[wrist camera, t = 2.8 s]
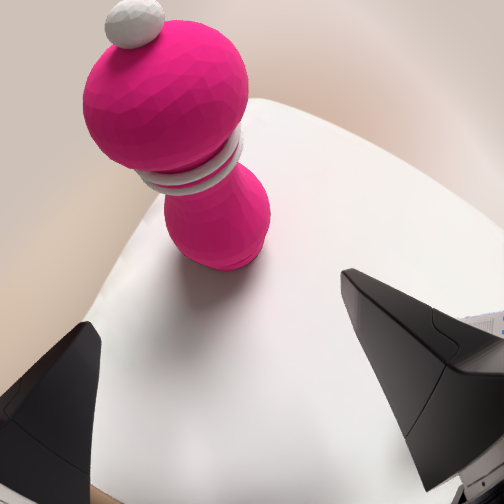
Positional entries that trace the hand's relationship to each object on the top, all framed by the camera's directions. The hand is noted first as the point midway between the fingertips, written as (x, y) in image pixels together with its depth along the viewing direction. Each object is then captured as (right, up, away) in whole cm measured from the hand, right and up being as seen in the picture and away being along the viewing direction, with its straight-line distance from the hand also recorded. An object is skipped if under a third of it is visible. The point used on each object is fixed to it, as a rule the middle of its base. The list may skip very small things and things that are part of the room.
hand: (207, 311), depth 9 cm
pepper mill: (-1, +3, +15) cm, 15 cm away
